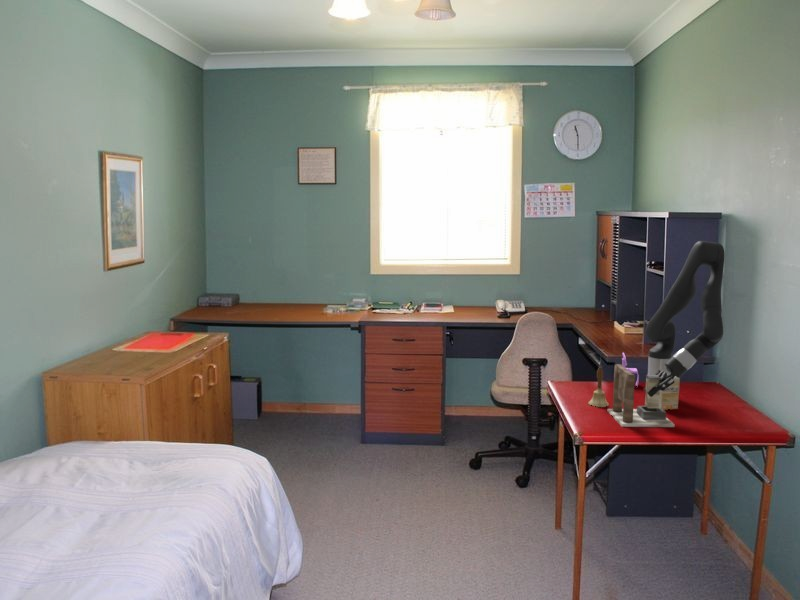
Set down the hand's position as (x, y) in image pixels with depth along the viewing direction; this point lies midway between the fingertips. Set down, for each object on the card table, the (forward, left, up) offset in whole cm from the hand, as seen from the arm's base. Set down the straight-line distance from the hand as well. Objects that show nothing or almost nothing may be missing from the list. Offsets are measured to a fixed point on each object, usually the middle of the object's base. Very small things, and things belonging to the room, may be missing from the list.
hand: (647, 393), depth 279 cm
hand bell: (-20, -13, -10) cm, 26 cm away
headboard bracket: (0, -2, -10) cm, 10 cm away
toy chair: (-53, +9, -10) cm, 55 cm away
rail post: (0, +2, -5) cm, 6 cm away
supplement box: (-15, +13, -10) cm, 22 cm away
